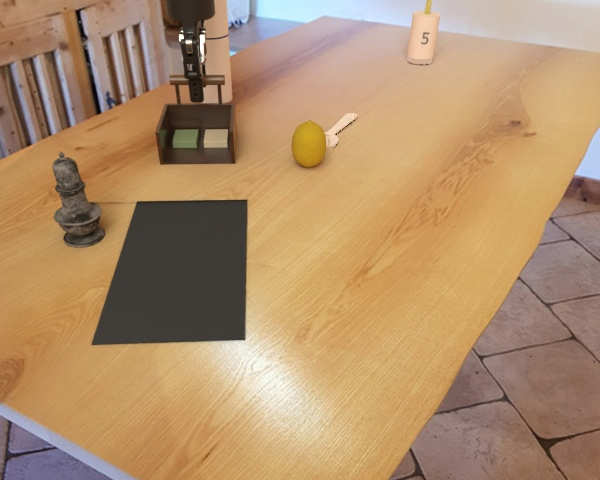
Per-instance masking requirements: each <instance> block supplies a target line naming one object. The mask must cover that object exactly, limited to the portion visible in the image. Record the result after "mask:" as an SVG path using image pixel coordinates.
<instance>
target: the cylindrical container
mask: <svg viewBox="0 0 600 480" xmlns="http://www.w3.org/2000/svg"><path fill="white" fill-rule="evenodd" d="M214 2H215V15H214V17H212V18H211V19H208V20H204V28H206V33H207V35H206V44H207V54H206V56H205V58H206V64H205V69H206V75H225V85H221V92H222V103H230V102H231V101H233V100H232V99H233V86H232V85H233V84H232V67H231V65H232V64H231V50H230V35H229V33H230V32H229V18H228V17H229V16H228V1H227V0H214ZM203 92H204V101H203V102H202V103H219V102H218V89H217V85H206V87H205V88H203Z"/></svg>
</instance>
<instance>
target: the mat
mask: <svg viewBox="0 0 600 480" xmlns="http://www.w3.org/2000/svg"><path fill="white" fill-rule="evenodd" d="M247 228H248V199H197V200H196V199H195V200H194V199H193V200H192V199H189V200H137V201H136V204H135V207H134V210H133V213H132V216H131V219H130V221H129V225H128V229H127V231H126V234H125V238H124V241H123V244H122V247H121V250H120V253H119V255H118V256H119V257H118V259H117V263H116V266H115V269H114V272H113V275H112V278H111V282H110V285H109V288H108V291H107V294H106V297H105V301H104V304H103V306H102V310H101V313H100V315H99V316H100V317H99V319H98V321H97V325H96V328H95V331H94V334H93V338H92V340H91V345H92V346H97V345H98V346H99V345H100V346H102V345H129V344H132V345H133V344H157V343H158V344H161V343H162V344H163V343H165V344H166V343H194V342H195V343H196V342H220V341H221V342H224V341H225V342H226V341H245V339H246V304H247V303H246V301H247V299H246V296H247V295H246V294H247V293H246V292H247V239H248V236H247V235H248V229H247Z"/></svg>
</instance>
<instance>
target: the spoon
mask: <svg viewBox="0 0 600 480" xmlns="http://www.w3.org/2000/svg"><path fill="white" fill-rule="evenodd" d="M354 115H355V116H354ZM356 116H358V114H356V113H353V112H348V113H345V114H344V116H342V117H341V118H340V119H339V120H338V121H337V122H336V123H335V124H334V125H333V126H332V127H331V128H330V129H329V130H327V131H324V133H325V136H326V149H327V148H330V147H332V148H334V147H336V146H337V145H338V144H339V136H337V134H339V133H340V132H341V131H343V130H344V129H345V128H346V127H345V126H347V125H348V124H349V123H350V122H351V121H353V120H354V119H355V118H356ZM354 117H355V118H354ZM353 122H354V121H353ZM349 125H350V124H349ZM349 125H348V126H349ZM348 126H347V127H348ZM344 127H345V128H344ZM343 128H344V129H343ZM342 129H343V130H342ZM340 130H341V131H340ZM339 131H340V132H339ZM338 132H339V133H338ZM336 133H337V134H336ZM335 134H336V135H335ZM336 144H337V145H336Z"/></svg>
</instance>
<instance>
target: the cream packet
mask: <svg viewBox="0 0 600 480" xmlns="http://www.w3.org/2000/svg"><path fill="white" fill-rule="evenodd" d="M228 139H229V131H228V129H206V130H205V136H204V148H228Z"/></svg>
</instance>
